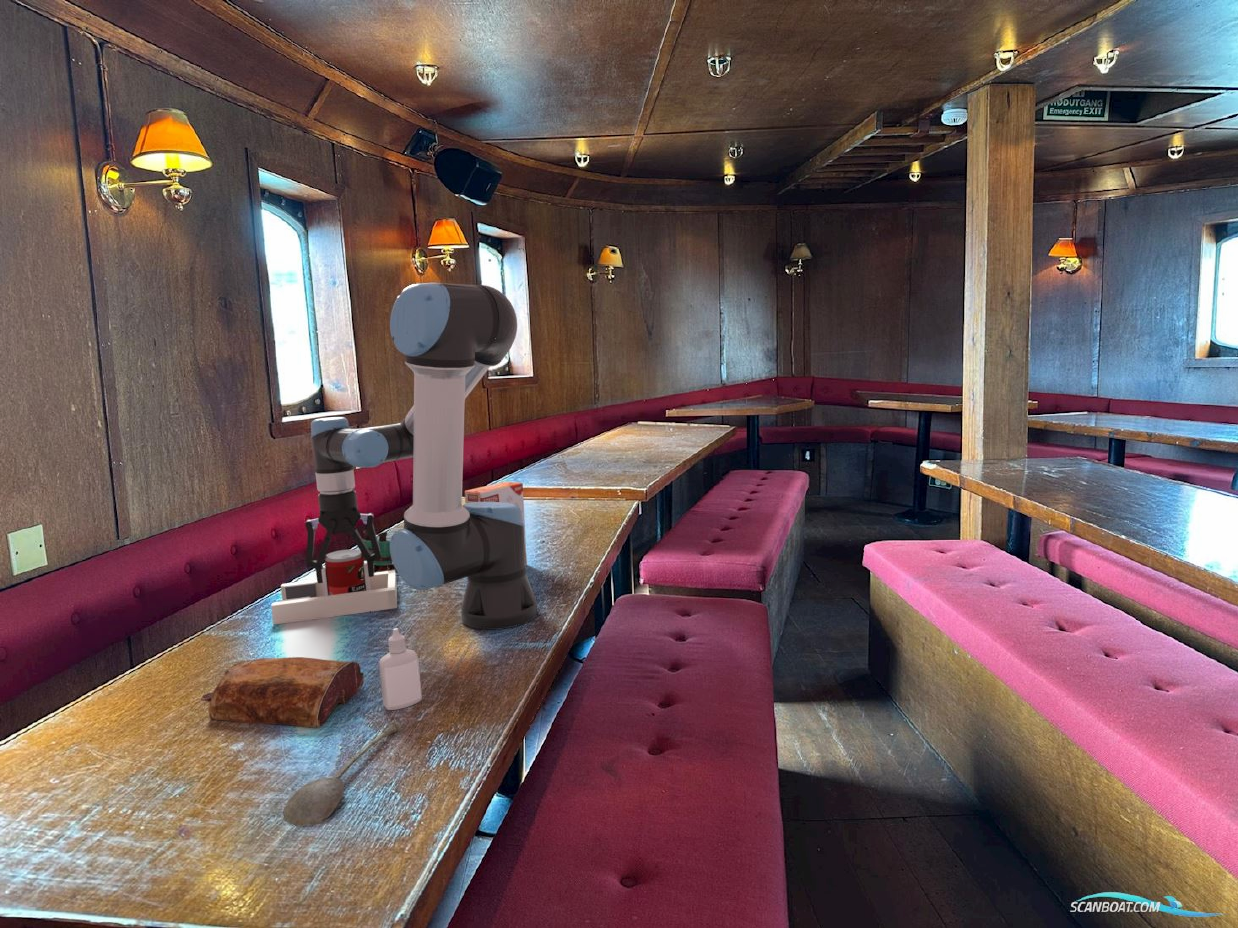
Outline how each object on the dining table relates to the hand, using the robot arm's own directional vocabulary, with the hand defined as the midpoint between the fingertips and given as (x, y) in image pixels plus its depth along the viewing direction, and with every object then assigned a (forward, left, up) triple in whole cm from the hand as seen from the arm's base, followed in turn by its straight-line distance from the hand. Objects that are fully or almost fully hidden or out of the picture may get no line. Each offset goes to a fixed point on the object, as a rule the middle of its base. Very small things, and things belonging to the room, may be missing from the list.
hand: (348, 593), depth 161 cm
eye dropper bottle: (-53, -11, -2) cm, 54 cm away
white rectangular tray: (0, +2, -2) cm, 3 cm away
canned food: (0, 0, -2) cm, 2 cm away
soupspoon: (-70, -4, -3) cm, 70 cm away
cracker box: (+10, -34, -2) cm, 36 cm away
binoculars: (+23, -7, -2) cm, 24 cm away
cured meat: (-43, +8, -3) cm, 44 cm away
